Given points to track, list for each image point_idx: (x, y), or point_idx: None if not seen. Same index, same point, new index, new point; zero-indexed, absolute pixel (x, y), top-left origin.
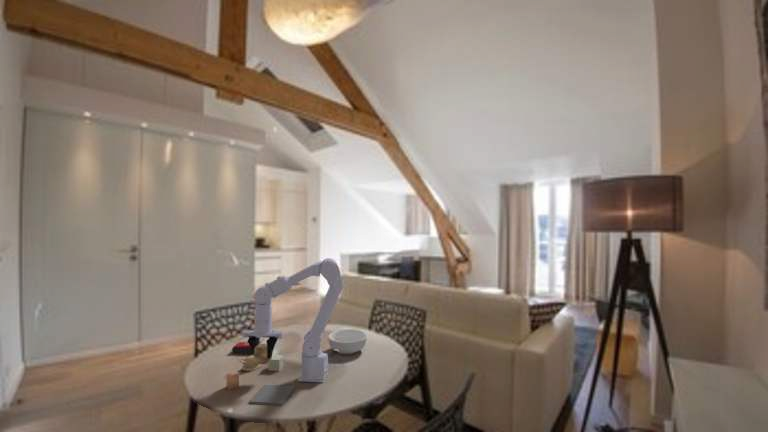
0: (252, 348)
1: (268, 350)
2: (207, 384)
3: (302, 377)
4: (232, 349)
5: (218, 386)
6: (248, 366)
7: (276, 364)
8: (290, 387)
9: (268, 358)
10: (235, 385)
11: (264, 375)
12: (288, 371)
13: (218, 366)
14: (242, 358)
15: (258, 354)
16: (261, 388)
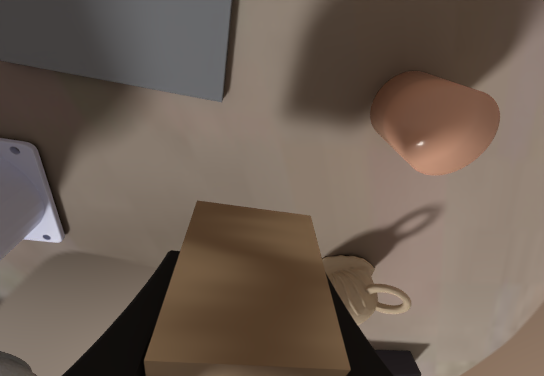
0: (372, 365)
1: (139, 332)
2: (530, 151)
3: (10, 168)
4: (418, 369)
5: None
6: (346, 273)
7: None
8: (9, 41)
9: (179, 252)
10: (398, 87)
11: None
12: (153, 245)
13: (461, 289)
14: (390, 310)
15: (277, 282)
16: (220, 48)
